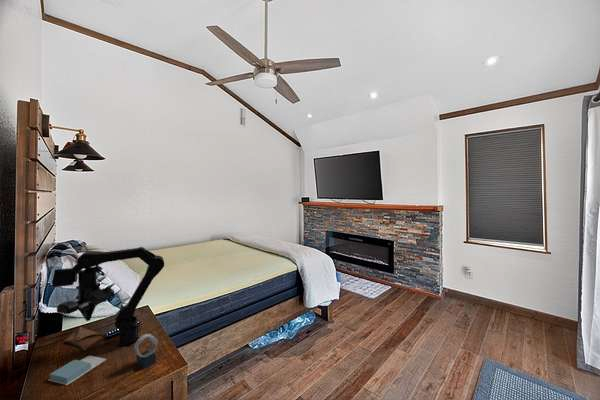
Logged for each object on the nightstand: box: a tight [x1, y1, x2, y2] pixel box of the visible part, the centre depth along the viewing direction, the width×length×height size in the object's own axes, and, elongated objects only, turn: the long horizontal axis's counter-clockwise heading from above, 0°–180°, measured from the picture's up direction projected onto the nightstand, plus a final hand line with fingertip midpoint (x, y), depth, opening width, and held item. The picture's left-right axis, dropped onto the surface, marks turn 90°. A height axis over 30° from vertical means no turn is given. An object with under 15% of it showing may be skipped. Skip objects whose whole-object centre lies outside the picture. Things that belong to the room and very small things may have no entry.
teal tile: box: [49, 359, 92, 385], centre depth 94 cm, size 2×8×8 cm
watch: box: [133, 333, 159, 370], centre depth 101 cm, size 6×8×11 cm
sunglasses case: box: [61, 326, 107, 351], centre depth 115 cm, size 18×7×7 cm, turn 69°
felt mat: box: [48, 355, 107, 386], centre depth 97 cm, size 14×9×1 cm, turn 166°
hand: (88, 320), depth 107 cm, fingers closed
